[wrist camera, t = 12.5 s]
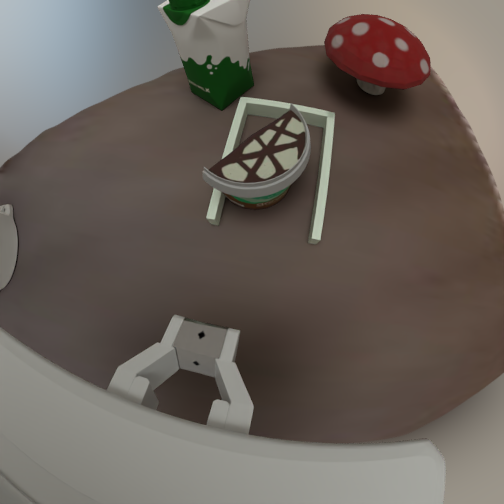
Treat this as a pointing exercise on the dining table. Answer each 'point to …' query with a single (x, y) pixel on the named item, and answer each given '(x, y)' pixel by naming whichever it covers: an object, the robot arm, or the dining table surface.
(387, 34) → the decorative mushroom
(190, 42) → the milk carton
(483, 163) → the dining table surface
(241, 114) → the pale green u-shaped frame
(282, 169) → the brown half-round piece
